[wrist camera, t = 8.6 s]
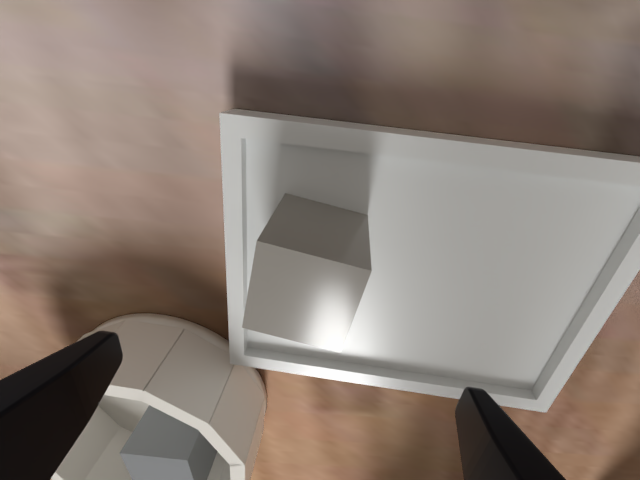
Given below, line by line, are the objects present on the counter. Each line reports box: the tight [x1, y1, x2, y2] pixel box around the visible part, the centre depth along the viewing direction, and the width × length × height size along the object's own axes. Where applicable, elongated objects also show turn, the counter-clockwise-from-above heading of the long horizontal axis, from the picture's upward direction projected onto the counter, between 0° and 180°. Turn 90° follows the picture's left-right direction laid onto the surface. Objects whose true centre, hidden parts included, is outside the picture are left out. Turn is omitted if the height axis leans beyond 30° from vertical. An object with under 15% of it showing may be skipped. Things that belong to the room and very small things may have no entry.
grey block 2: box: [242, 193, 372, 353], centre depth 13 cm, size 4×4×4 cm
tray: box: [219, 109, 640, 413], centre depth 15 cm, size 17×13×2 cm
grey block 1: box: [120, 405, 217, 480], centre depth 19 cm, size 4×4×4 cm
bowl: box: [51, 313, 267, 480], centre depth 20 cm, size 13×13×5 cm
